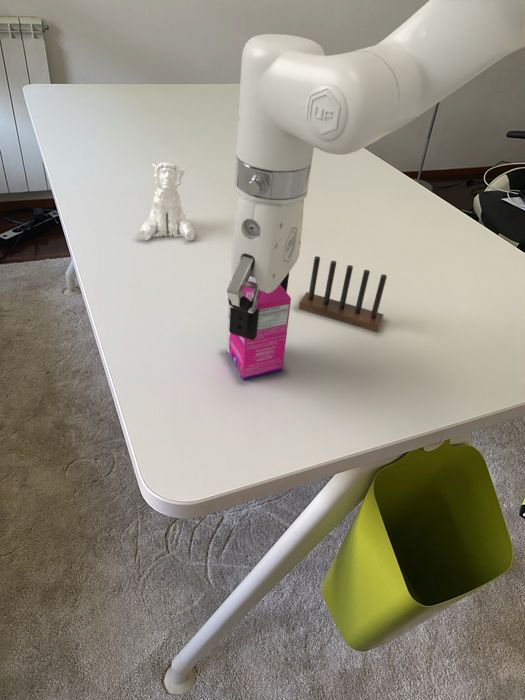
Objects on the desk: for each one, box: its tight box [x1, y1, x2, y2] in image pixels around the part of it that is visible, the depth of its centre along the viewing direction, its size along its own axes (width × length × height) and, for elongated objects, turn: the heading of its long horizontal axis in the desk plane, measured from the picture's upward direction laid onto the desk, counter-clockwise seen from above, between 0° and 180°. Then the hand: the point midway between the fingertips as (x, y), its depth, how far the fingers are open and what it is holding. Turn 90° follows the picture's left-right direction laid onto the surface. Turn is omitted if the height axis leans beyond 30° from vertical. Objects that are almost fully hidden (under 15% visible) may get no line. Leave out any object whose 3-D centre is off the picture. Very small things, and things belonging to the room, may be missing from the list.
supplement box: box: [226, 277, 292, 381], centre depth 68 cm, size 6×6×12 cm
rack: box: [298, 255, 388, 333], centre depth 79 cm, size 12×3×8 cm, turn 68°
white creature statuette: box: [138, 161, 196, 242], centre depth 94 cm, size 10×9×12 cm
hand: (259, 313), depth 66 cm, fingers open, 9 cm apart
